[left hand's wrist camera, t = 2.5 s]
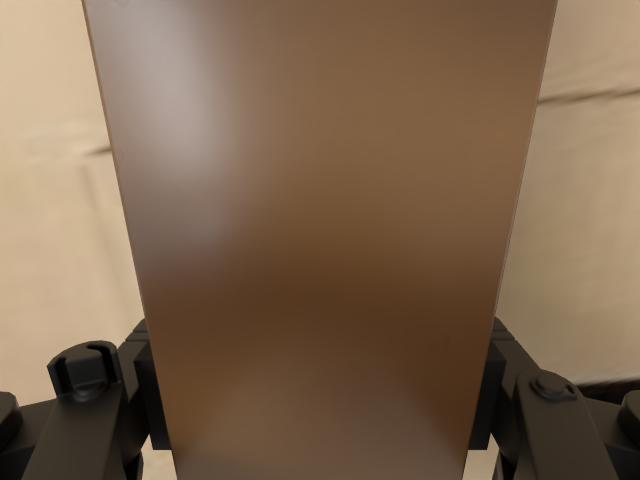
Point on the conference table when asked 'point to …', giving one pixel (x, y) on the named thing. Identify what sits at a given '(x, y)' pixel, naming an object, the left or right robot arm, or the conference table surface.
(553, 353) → the conference table surface
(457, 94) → the bar
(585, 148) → the conference table surface
